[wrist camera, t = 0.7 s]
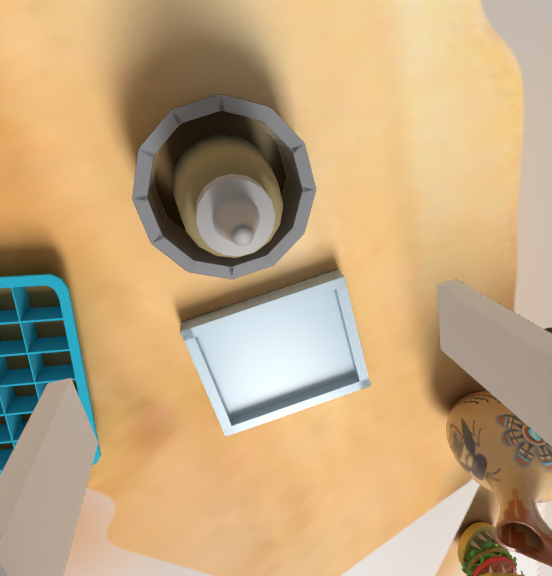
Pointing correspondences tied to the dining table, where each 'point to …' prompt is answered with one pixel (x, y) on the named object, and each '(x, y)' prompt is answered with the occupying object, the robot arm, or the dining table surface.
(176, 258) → the grey faceted ring
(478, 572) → the hamburger
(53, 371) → the ice cube tray
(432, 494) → the dining table surface
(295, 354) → the tray
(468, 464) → the ceramic vessel
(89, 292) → the dining table surface
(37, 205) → the dining table surface
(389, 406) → the dining table surface
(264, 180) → the squeeze bottle
